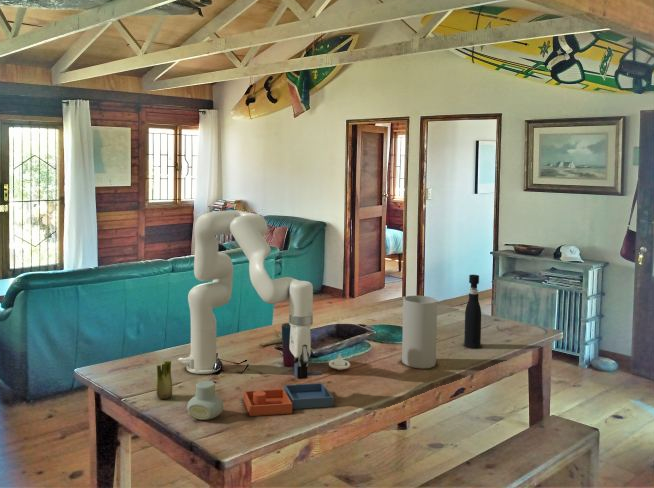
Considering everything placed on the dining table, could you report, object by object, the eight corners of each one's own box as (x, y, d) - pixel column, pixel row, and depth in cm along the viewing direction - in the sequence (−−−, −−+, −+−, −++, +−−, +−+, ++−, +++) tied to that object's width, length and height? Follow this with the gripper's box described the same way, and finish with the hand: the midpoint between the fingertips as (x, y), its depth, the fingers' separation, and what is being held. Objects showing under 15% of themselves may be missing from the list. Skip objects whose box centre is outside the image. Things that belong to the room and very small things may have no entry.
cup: (297, 367, 225) (298, 328, 225) (279, 366, 227) (280, 327, 226) (300, 361, 232) (300, 323, 231) (282, 360, 233) (283, 322, 233)
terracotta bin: (249, 416, 183) (250, 406, 183) (243, 400, 195) (243, 391, 195) (292, 413, 185) (292, 403, 185) (283, 397, 197) (283, 388, 197)
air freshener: (182, 418, 181) (183, 385, 180) (195, 408, 189) (195, 376, 188) (215, 424, 177) (216, 391, 176) (227, 413, 185) (227, 381, 184)
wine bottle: (463, 347, 251) (465, 276, 250) (464, 343, 257) (466, 273, 256) (480, 349, 249) (482, 277, 248) (480, 344, 255) (482, 274, 253)
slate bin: (292, 409, 188) (292, 399, 188) (284, 393, 200) (284, 385, 200) (333, 406, 191) (333, 397, 191) (322, 391, 203) (322, 382, 203)
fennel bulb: (157, 401, 193) (157, 365, 192) (153, 396, 198) (153, 360, 197) (174, 399, 195) (174, 362, 195) (170, 393, 200) (170, 358, 199)
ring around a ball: (348, 365, 228) (327, 364, 229) (349, 350, 228) (327, 350, 228) (351, 373, 220) (329, 372, 221) (351, 358, 220) (329, 357, 220)
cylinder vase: (395, 363, 231) (397, 299, 229) (411, 356, 240) (413, 293, 238) (426, 371, 222) (427, 305, 221) (441, 363, 231) (442, 299, 230)
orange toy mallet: (254, 408, 187) (254, 396, 187) (252, 403, 191) (252, 391, 191) (283, 406, 189) (283, 394, 189) (281, 401, 193) (281, 389, 193)
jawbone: (293, 337, 265) (293, 332, 265) (279, 351, 246) (279, 346, 246) (273, 333, 268) (274, 328, 268) (258, 347, 249) (259, 342, 249)
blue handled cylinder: (296, 378, 192) (296, 366, 192) (293, 374, 196) (293, 362, 196) (324, 376, 194) (324, 364, 194) (321, 372, 198) (321, 360, 198)
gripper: (283, 313, 201) (283, 367, 202) (295, 327, 185) (295, 386, 186) (305, 312, 203) (305, 366, 203) (319, 326, 186) (318, 384, 187)
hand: (300, 375), depth 195 cm, fingers closed on blue handled cylinder, 4 cm apart
